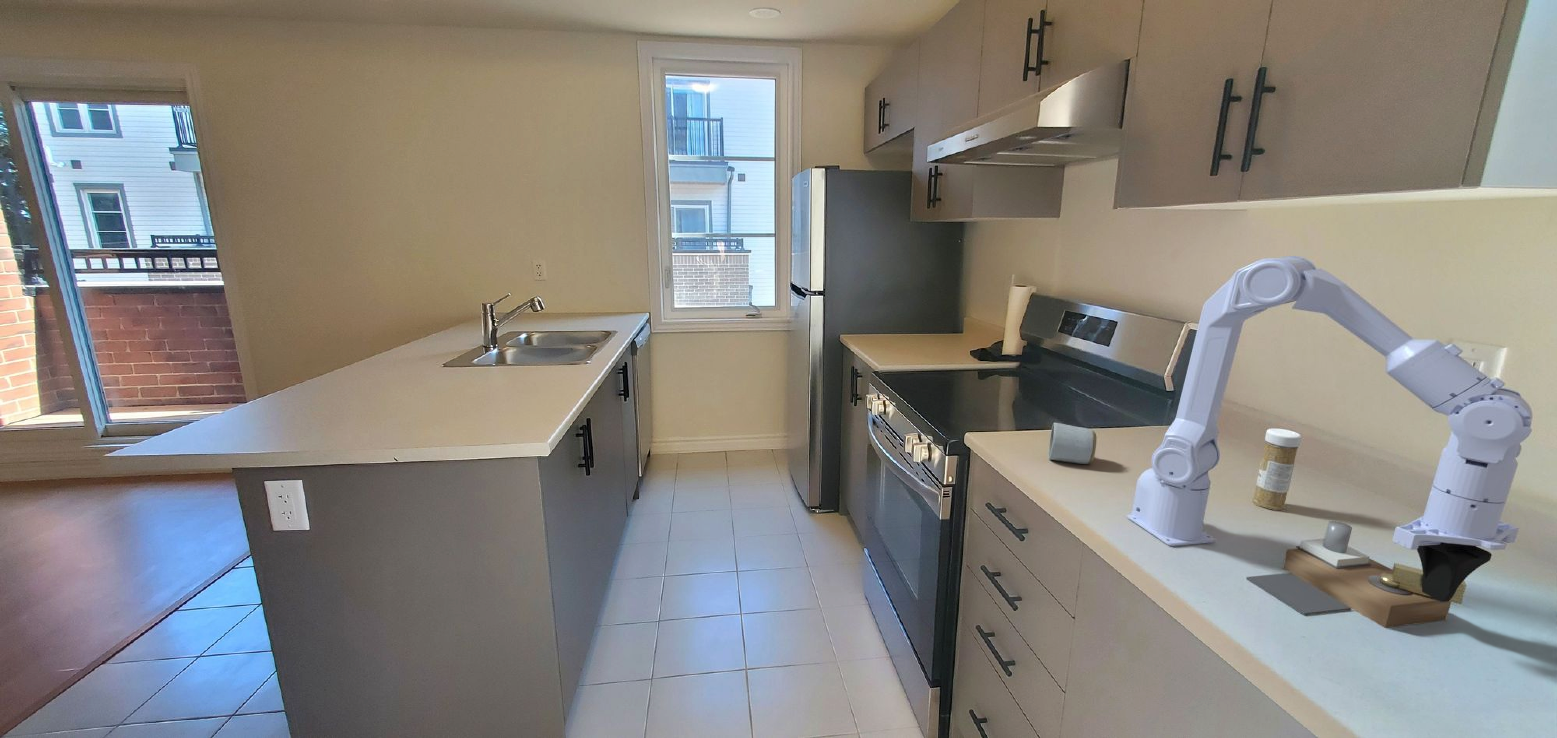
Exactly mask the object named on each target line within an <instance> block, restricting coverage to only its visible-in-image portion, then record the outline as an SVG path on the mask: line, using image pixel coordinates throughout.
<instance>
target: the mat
mask: <svg viewBox="0 0 1557 738" xmlns="http://www.w3.org/2000/svg"><path fill="white" fill-rule="evenodd" d="M1245 579H1246V580H1247V581H1249V583H1252V584H1254V585H1255V586H1256V587H1258V588H1260V589H1261V590H1263V591H1265V592H1266V593H1268V594H1270V595H1271V596H1273V597H1274V598H1276V599H1277V600H1279V601H1280V602H1281V603H1283V604H1285V605H1287V606H1288V607H1290V608H1291V609H1292V610H1295V611H1297V612H1298V613H1300V615H1303V616H1308V615H1309V616H1310V615H1316V614H1317V615H1318V614H1325V613H1326V614H1328V613H1336V612H1344V611H1345V612H1346V611H1351V610H1352V608H1351V607H1349V606H1347V605H1345V604H1344V603H1342V602H1340V601H1338V600H1337V599H1335V598H1333V597H1332V596H1330V595H1328V594H1326V593H1325V592H1323V591H1321V590H1319V589H1318V588H1316V587H1314V586H1313V585H1311V584H1309V583H1307V582H1306V581H1304V580H1302V579H1300V578H1299V577H1297V576H1295V575H1293V574H1292V573H1290V572H1284V573H1283V572H1281V573H1275V574H1274V573H1273V574H1263V575H1253V576H1246V578H1245Z"/></svg>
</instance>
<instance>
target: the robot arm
mask: <svg viewBox="0 0 1557 738" xmlns="http://www.w3.org/2000/svg"><path fill="white" fill-rule="evenodd" d="M1294 302H1295V303H1294ZM1290 303H1294V304H1293V306H1292V307H1291V308H1292V310H1298V311H1305V312H1311V313H1312V312H1313V313H1318V314H1319V313H1320V314H1324V315H1325V316H1327V317H1329V318H1330V319H1332V320H1333V321H1335V323H1337V324H1339V326H1342V328H1344V329H1346V330H1347V331H1349V333H1351V334H1353V335H1354V336H1356V337H1357V338H1358V339H1359V340H1361V341H1363V342H1364V343H1366V344H1367V345H1368V346H1370V347H1371V348H1372V349H1373V350H1374V351H1376V352H1378V353H1379V354H1381V355H1382V356H1384V357H1385V361H1386V362H1385V373H1386V374H1387V375H1388V376H1389V377H1391V378H1392V379H1393V380H1394V381H1396V382H1397V383H1399V384H1400V386H1402V387H1404V389H1406V390H1407V391H1408V392H1410V393H1411V394H1412V395H1413V396H1415V397H1416V398H1417V399H1419V400H1421V402H1422V403H1424V404H1425V405H1426V406H1428V407H1429V408H1430V409H1431V410H1432V411H1434V412H1436V413H1439V414H1443V415H1445V416H1447V417H1448V419H1447V420H1448V425H1449V426H1448V427H1449V428H1450V430H1451V432H1450V435H1449V439H1448V442H1447V445H1446V446H1445V447H1443V448H1442V451H1441V454H1440V457H1439V460H1438V461H1439V462H1438V464H1437V468H1436V472H1435V475H1434V478H1433V482H1432V485H1431V488H1430V489H1431V490H1430V492H1429V494H1428V499H1427V503H1426V505H1425V508H1424V512H1423V516H1420V517H1418V518H1416V519H1415V520H1413V521H1411V522H1409V523H1407V524H1405V525H1400V526H1395V529H1394V534H1393V537H1392V542H1393V543H1395V544H1397V545H1399V546H1402V547H1404V548H1407V549H1409V550H1411V551H1412V550H1413V551H1414V550H1416V551H1417V553H1418V556H1419V559H1420V562H1421V563H1420V564H1421V567H1422V568H1421V570H1423V579H1422V592H1423V593H1425V594H1427V595H1429V596H1431V597H1433V598H1435V599H1437V600H1439V601H1441V602H1448V601H1449V600H1450V599H1451V598H1452V597H1453V596H1454V594H1455V592H1456V590H1457V588H1458V587H1459V585H1460V584H1461V583H1462V582H1463V581H1465V580H1466V579H1467V578H1468V576H1470V575H1471V574H1472V573H1473V572H1474V571H1475V570H1477V569H1478V568H1479V567H1482V566H1483V565H1485V564H1486V563H1488V562H1489V561H1491V558H1492V555H1493V554H1492V552H1490V551H1488V550H1492V551H1499V550H1500V551H1502V550H1505V549H1506V547H1507V544H1512V543H1515V541H1516V538H1517V535H1518V532H1519V530H1520V529H1519V527H1518V526H1514V525H1511V524H1509V523H1507V522H1504V521H1502V520H1501V517H1502V516H1503V512H1504V509H1505V505H1506V504H1507V503H1506V502H1507V500H1508V496H1509V493H1510V490H1511V487H1512V484H1513V481H1514V477H1515V475H1516V472H1517V470H1518V465H1519V464H1518V463H1519V462H1518V460H1517V459H1516V458H1518V457H1519V456H1520V454H1521V453H1522V452H1521V451H1522V445H1521V443H1522V442H1524V441H1525V440H1526V439H1527V438H1528V437H1529V436H1530V435H1531V433H1532V431H1533V429H1532V428H1531V426H1532V421H1533V410H1532V408H1531V406H1530V404H1529V403H1528V401H1526V400H1525V399H1524V398H1522V396H1521V394H1520V392H1518V391H1516V390H1513V389H1511V388H1506V387H1504V386H1505V385H1506V383H1505V382H1504V381H1503V380H1502V379H1500V378H1499V377H1494V378H1493V379H1491V378H1490V377H1489V376H1487V375H1486V374H1485V373H1483V372H1481V371H1480V370H1479V369H1477V368H1476V367H1475V366H1473V365H1472V364H1470V363H1469V362H1468V361H1467V360H1465V359H1464V358H1462V357H1461V356H1460V355H1461V354H1462V353H1463V349H1462V348H1460V347H1459V346H1457V345H1456V344H1455V343H1450V344H1448V345H1445V344H1443V342H1441V341H1440V340H1438V339H1418V338H1413V337H1412V336H1411V335H1410V334H1409V333H1407V332H1406V331H1405V330H1404V329H1403V328H1401V327H1400V326H1399V325H1398V324H1396V323H1395V322H1393V320H1391V319H1390V318H1389V317H1387V315H1385V314H1384V313H1382V312H1381V311H1380V310H1378V309H1377V308H1376V307H1375V306H1373V305H1372V304H1371V303H1370V302H1368V301H1367V300H1366V299H1365V298H1364V297H1363V296H1361V295H1360V294H1358V293H1357V292H1356V291H1355V290H1353V289H1352V288H1351V287H1350V286H1349V285H1347V284H1346V283H1344V282H1343V281H1341V280H1340V279H1339V278H1337V277H1336V276H1335V275H1333V274H1332V273H1330V272H1329V271H1327V270H1325V269H1323V268H1317V267H1316V265H1314V263H1313V262H1311V261H1310V260H1308V259H1307V258H1305V257H1301V256H1296V255H1289V256H1287V255H1286V256H1282V257H1279V258H1277V257H1268V258H1262V259H1260V260H1257V261H1255V262H1252V263H1251V264H1249V265H1246V266H1244V267H1241V268H1239V269H1238V270H1236V271H1235V273H1234V274H1233V275H1232V276H1231V277H1230V279H1229V280H1228V281H1227V282H1226V283H1224V284H1223V285H1222V286H1221V287H1220V288H1219V289H1218V290H1216V291H1215V293H1214V294H1212V295H1211V296H1210V297H1209V298H1208V299H1207V300H1206V301H1205V302H1204V304H1203V306H1202V310H1201V313H1200V318H1199V322H1198V327H1197V329H1196V333H1195V337H1194V342H1193V346H1192V351H1191V354H1190V359H1189V363H1188V366H1187V370H1186V375H1185V379H1184V383H1183V387H1182V391H1181V395H1180V398H1179V399H1180V400H1179V403H1178V407H1177V412H1176V416H1175V419H1174V420H1173V421H1172V423H1171V424H1170V426H1169V428H1168V429H1167V430H1166V432H1165V433H1164V436H1163V440H1162V443H1161V444H1160V446H1159V447H1158V448H1157V449H1156V450H1154V451H1153V454H1152V456H1151V461H1150V462H1151V468H1147V469H1146V470H1144V471H1143V472H1142V473H1141V475H1140V476H1139V477H1138V479H1137V481H1136V485H1135V493H1134V498H1133V505H1132V512H1131V513H1128V514H1127V515H1126V518H1127V519H1129V520H1130V521H1132V522H1133V523H1135V524H1136V525H1138V526H1139V527H1140V528H1142V529H1144V530H1145V531H1146V532H1148V533H1150V534H1151V535H1153V536H1154V537H1156V538H1157V539H1159V540H1161V541H1162V542H1163V543H1165V544H1166V545H1167V546H1171V547H1172V546H1173V547H1175V546H1185V545H1187V546H1188V545H1197V544H1207V543H1208V544H1209V543H1215V542H1216V539H1215V538H1214V537H1212V536H1211V535H1210V534H1208V533H1206V532H1204V531H1202V530H1203V525H1204V520H1205V516H1206V515H1205V514H1206V509H1207V504H1208V499H1209V495H1210V489H1211V483H1212V482H1211V479H1210V477H1209V471H1211V470H1213V469H1214V468H1215V467H1216V466H1217V465H1218V464H1219V462H1220V458H1221V452H1220V448H1219V446H1218V437H1219V433H1220V432H1219V427H1218V424H1217V423H1218V418H1219V415H1220V411H1221V408H1222V403H1223V400H1224V397H1225V392H1226V388H1227V385H1228V381H1229V378H1230V374H1231V370H1232V367H1233V364H1234V363H1233V362H1234V359H1235V354H1236V352H1237V348H1238V344H1239V339H1240V336H1241V333H1242V329H1243V325H1244V322H1245V321H1246V320H1248V319H1250V318H1252V317H1254V316H1257V315H1258V314H1260V313H1262V312H1264V311H1267V310H1268V309H1270V308H1274V307H1278V306H1281V305H1287V304H1290ZM1481 547H1483V548H1485V549H1483V548H1481ZM1486 549H1488V550H1486Z"/></svg>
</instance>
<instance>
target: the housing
mask: <svg viewBox="0 0 1557 738" xmlns="http://www.w3.org/2000/svg"><path fill="white" fill-rule="evenodd" d="M1283 561H1284V562H1283V566H1282V569H1284V570H1285V571H1287V573H1292V574H1293V575H1295V576H1297V577H1299V578H1300V579H1302V580H1304V581H1306V582H1307V583H1309V584H1311V585H1313V586H1314V587H1316V588H1318V589H1319V590H1321V591H1323V592H1325V593H1326V594H1328V595H1330V596H1332V597H1333V598H1335V599H1337V600H1338V601H1340V602H1342V603H1344V604H1345V605H1347V606H1349V607H1351V610H1354V611H1356V612H1357V613H1358V614H1361V615H1363V616H1365V617H1366V618H1368V619H1370V620H1371V621H1373V622H1375V623H1377V624H1378V625H1380V626H1382V627H1383V628H1391V627H1400V626H1401V627H1402V626H1408V625H1409V626H1410V625H1416V624H1427V623H1434V622H1444V621H1447V618H1448V614H1449V611H1450V608H1451V605H1452V602H1449V601H1448V602H1441V601H1439V600H1437V599H1435V598H1433V597H1430V596H1426V595H1423V594H1419V593H1415V592H1411V591H1408V590H1404V589H1400V588H1393V587H1389V586H1386V585H1384V584H1382V583H1381V582H1380V581H1379V579H1380V575H1381V574H1383V573H1385V574H1391V573H1392V570H1393V568H1390V567H1388V566H1386V565H1384V564H1382V563H1380V562H1378V561H1376V560H1374V559H1372V558H1370V557H1369V561H1368V563H1366V564H1356V565H1346V566H1335V565H1333V564H1331V563H1329V562H1327V561H1325V560H1323V559H1321V558H1319V557H1318V556H1316V555H1314V554H1312V553H1310V552H1308V551H1306V550H1304V549H1302V548H1300V545H1296V548H1287V549H1286V553H1285V558H1284V560H1283Z"/></svg>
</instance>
